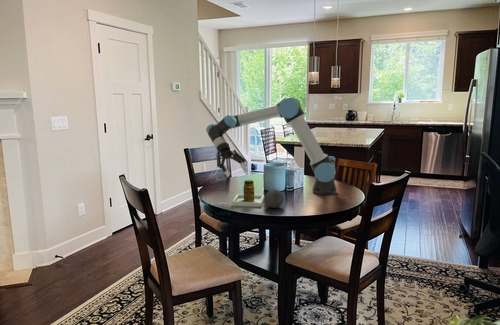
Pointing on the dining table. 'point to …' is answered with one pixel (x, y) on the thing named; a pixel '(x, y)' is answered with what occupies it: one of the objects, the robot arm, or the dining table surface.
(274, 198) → the decorative ball
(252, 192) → the condiment
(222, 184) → the dining table surface
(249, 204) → the sage tray
